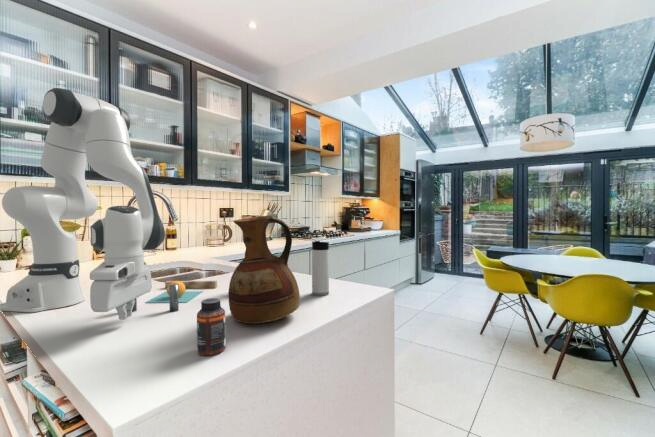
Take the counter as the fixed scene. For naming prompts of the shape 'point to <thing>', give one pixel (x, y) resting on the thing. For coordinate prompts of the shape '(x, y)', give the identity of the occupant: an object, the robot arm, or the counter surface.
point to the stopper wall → (196, 284)
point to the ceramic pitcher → (262, 276)
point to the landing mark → (183, 299)
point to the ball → (180, 288)
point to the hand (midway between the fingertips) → (125, 317)
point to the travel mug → (320, 268)
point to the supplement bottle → (211, 327)
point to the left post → (135, 306)
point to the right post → (173, 297)
